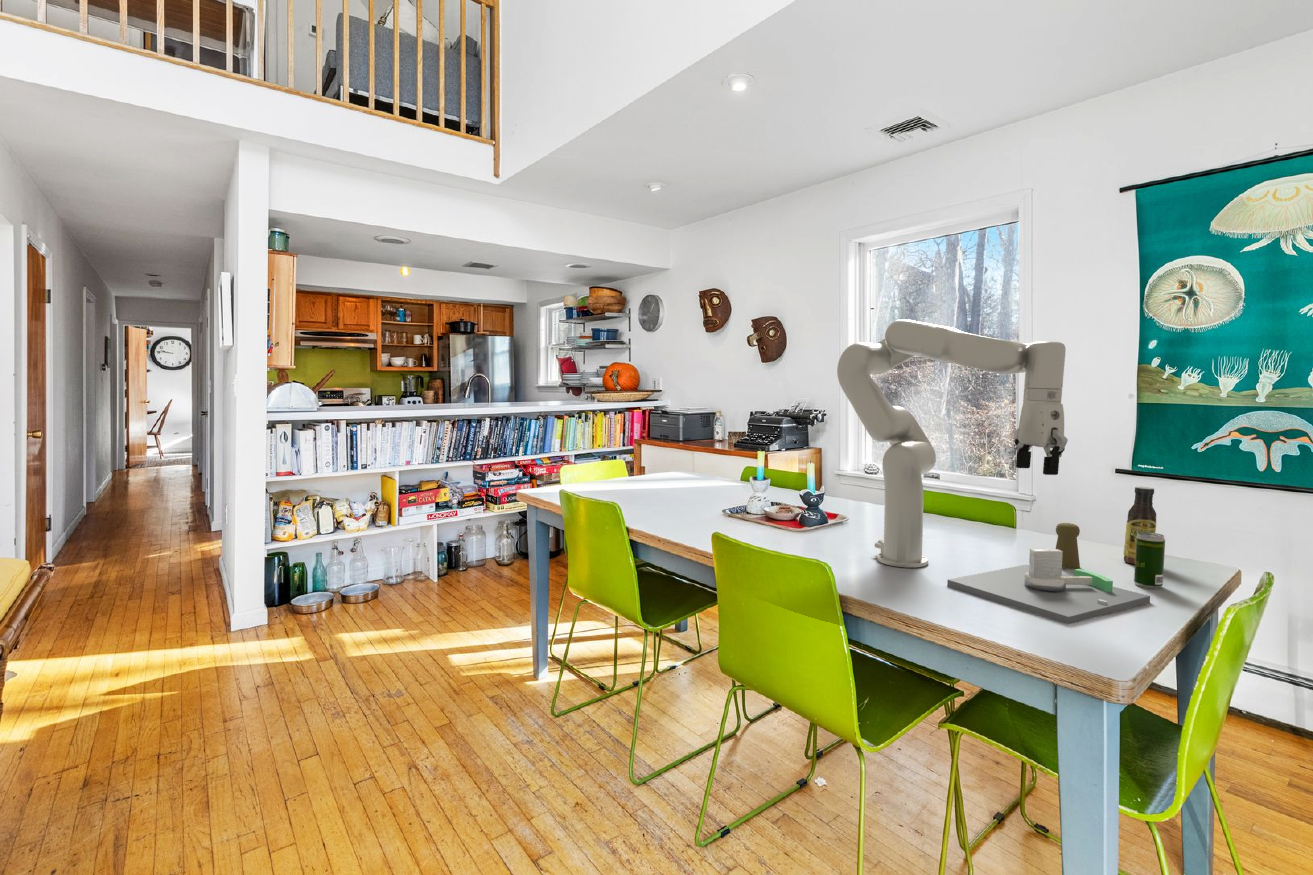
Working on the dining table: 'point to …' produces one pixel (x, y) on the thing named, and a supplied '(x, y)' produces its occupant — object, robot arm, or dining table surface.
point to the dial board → (1051, 594)
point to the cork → (1068, 545)
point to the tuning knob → (1050, 571)
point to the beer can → (1149, 560)
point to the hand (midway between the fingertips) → (1036, 471)
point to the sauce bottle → (1139, 520)
